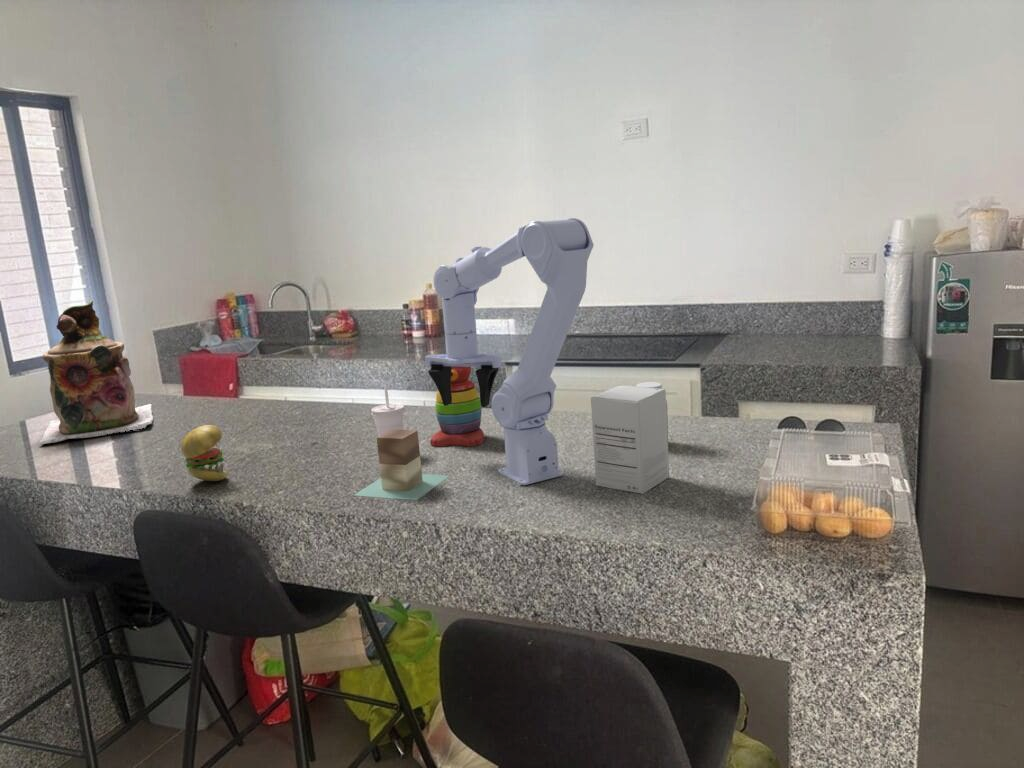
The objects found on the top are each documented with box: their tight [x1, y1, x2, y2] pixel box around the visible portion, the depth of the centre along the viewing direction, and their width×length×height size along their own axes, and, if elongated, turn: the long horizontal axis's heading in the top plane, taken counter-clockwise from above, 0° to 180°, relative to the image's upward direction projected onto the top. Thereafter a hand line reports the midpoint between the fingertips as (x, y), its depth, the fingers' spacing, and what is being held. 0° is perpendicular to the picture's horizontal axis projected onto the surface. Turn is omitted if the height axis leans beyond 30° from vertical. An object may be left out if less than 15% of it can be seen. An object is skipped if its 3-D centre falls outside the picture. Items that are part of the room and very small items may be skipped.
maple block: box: [379, 455, 423, 491], centre depth 127 cm, size 5×5×4 cm
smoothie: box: [370, 385, 406, 437], centre depth 145 cm, size 6×6×14 cm
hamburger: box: [180, 421, 228, 482], centre depth 137 cm, size 8×7×12 cm
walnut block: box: [376, 429, 421, 465], centre depth 127 cm, size 5×5×4 cm
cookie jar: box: [38, 299, 154, 447], centre depth 187 cm, size 25×25×32 cm
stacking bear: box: [429, 366, 485, 447], centre depth 152 cm, size 11×10×18 cm
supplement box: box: [590, 385, 670, 495], centre depth 120 cm, size 9×9×15 cm
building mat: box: [352, 473, 450, 501], centre depth 128 cm, size 12×12×1 cm
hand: (466, 405), depth 138 cm, fingers open, 7 cm apart
